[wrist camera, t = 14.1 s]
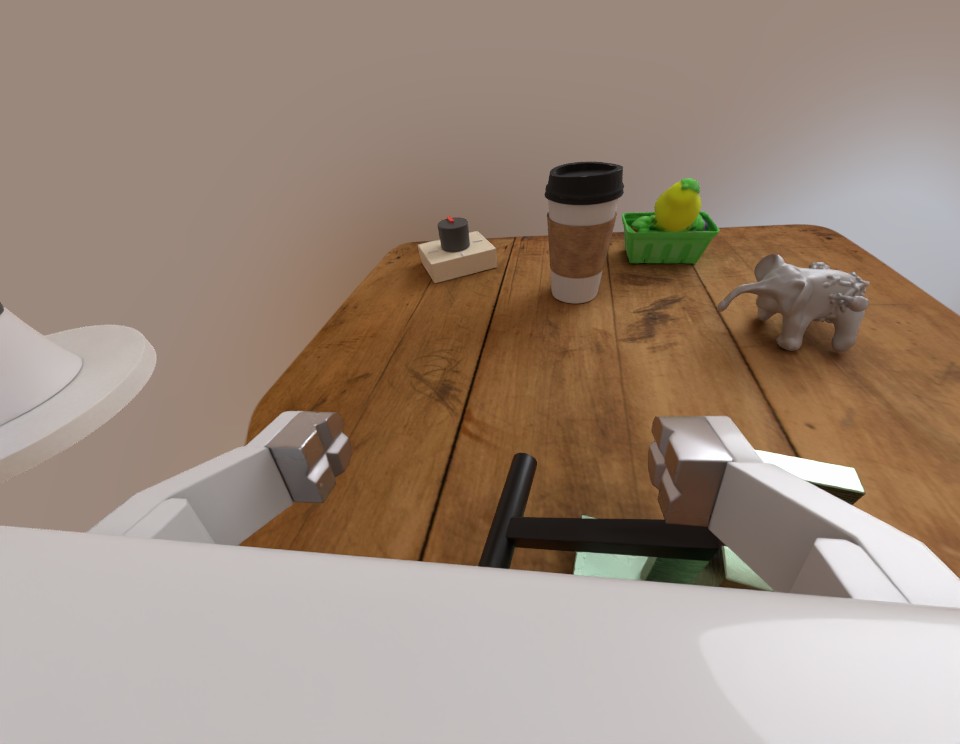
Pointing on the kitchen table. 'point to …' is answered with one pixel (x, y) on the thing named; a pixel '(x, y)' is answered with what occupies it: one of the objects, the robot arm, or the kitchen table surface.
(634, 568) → the green metal lever stand
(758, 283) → the gray elephant figurine
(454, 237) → the knob
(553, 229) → the coffee cup
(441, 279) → the panel
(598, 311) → the kitchen table surface
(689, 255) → the fruit basket
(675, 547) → the black lever handle
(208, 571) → the robot arm
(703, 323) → the kitchen table surface
